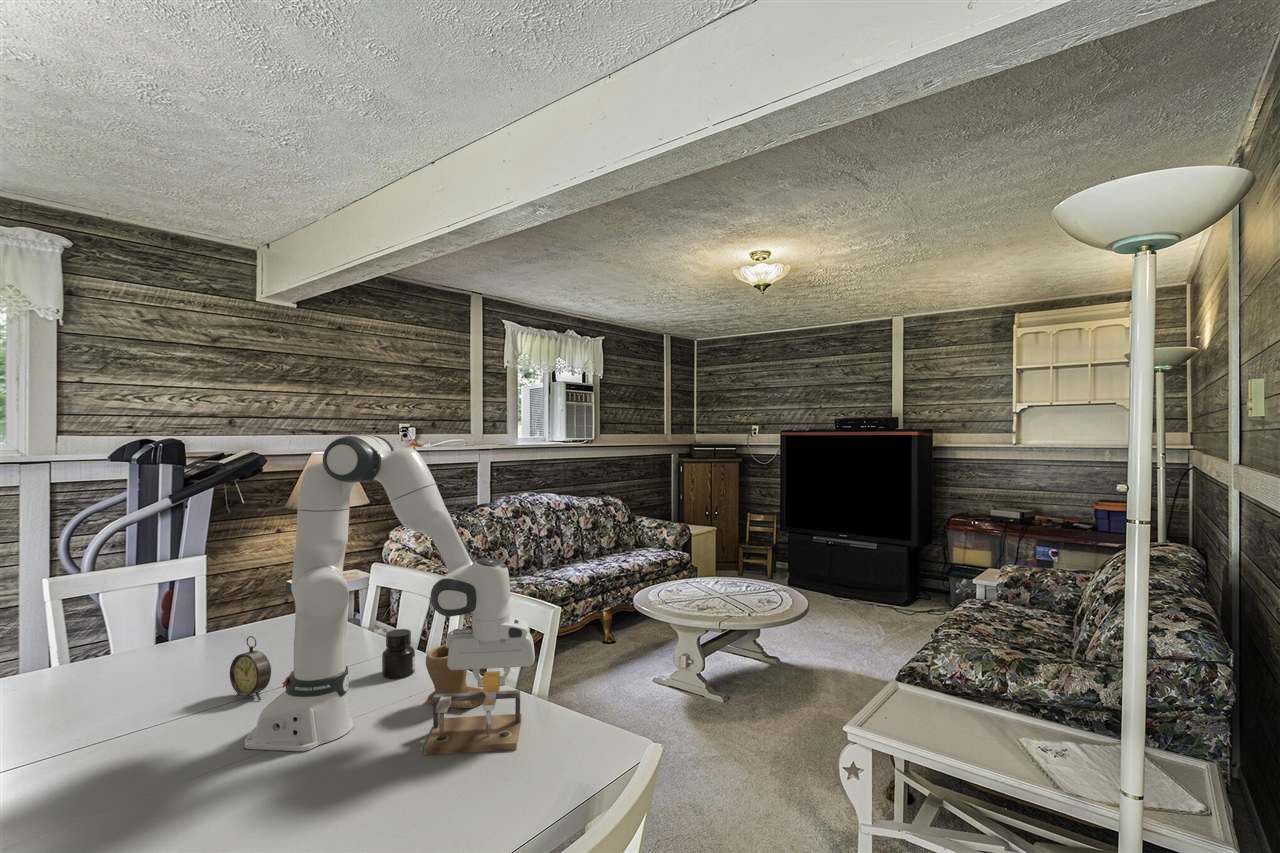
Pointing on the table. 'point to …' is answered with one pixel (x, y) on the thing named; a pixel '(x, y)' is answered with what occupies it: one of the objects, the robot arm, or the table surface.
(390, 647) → the ink bottle
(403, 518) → the robot arm
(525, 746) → the table surface
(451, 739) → the hole plate
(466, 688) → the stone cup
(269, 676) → the alarm clock
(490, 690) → the sliding pointer
